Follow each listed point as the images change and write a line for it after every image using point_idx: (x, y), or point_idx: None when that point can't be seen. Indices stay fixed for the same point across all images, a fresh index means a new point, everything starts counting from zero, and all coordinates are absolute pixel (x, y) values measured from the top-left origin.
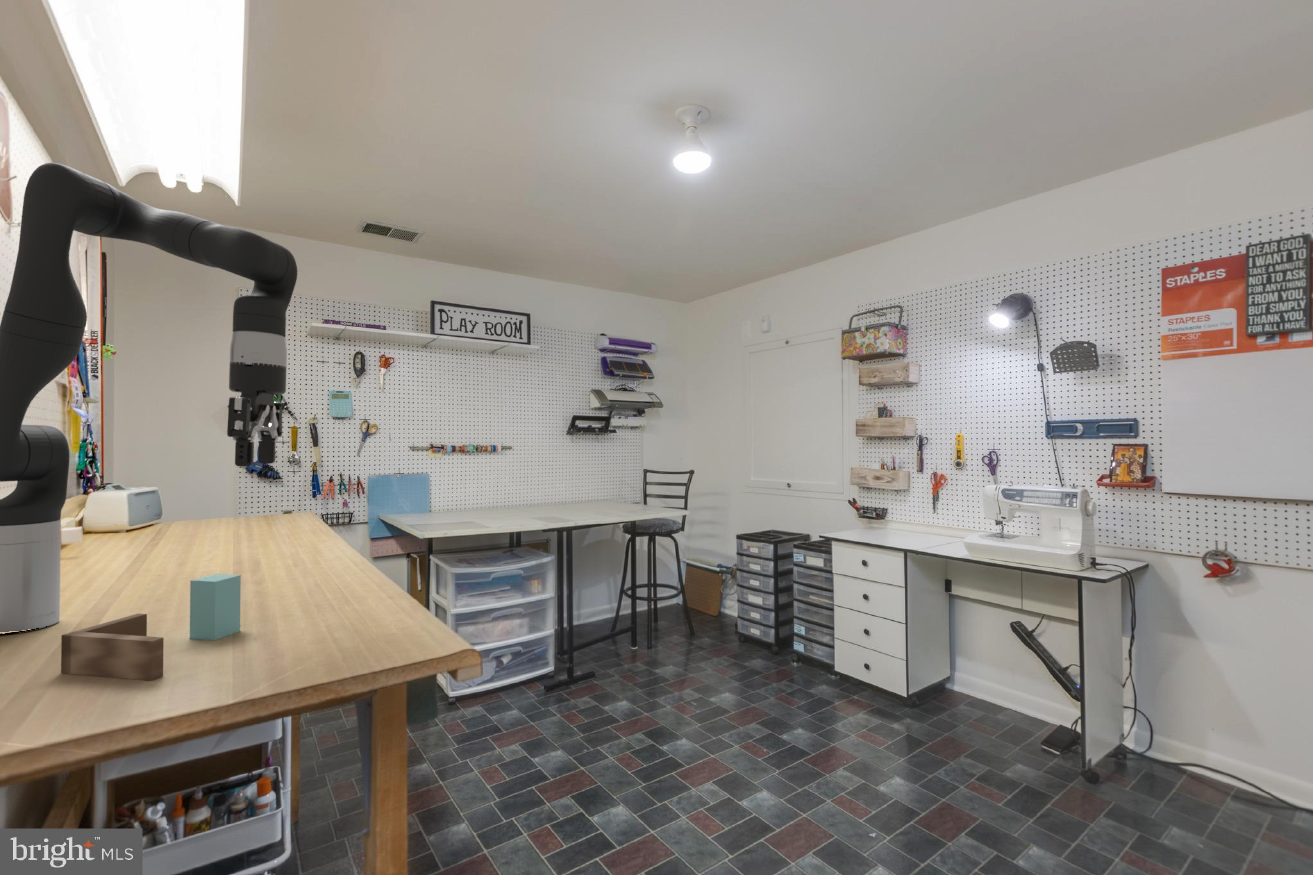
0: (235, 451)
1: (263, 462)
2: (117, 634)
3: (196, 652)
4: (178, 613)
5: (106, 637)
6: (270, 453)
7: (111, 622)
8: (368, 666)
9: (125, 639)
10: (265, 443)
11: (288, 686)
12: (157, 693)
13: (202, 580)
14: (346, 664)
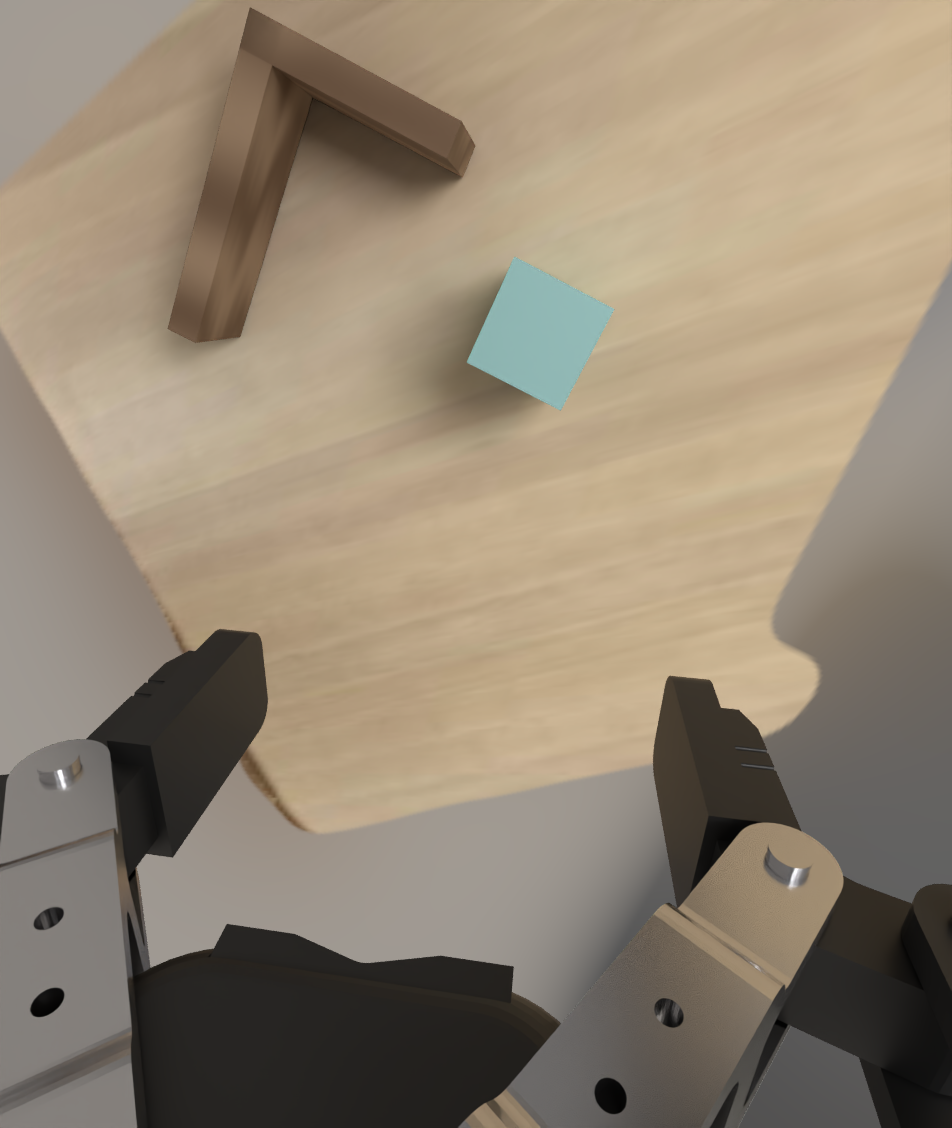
0: (162, 685)
1: (666, 703)
2: (234, 196)
3: (405, 335)
4: (904, 55)
5: (210, 180)
6: (666, 804)
7: (363, 91)
8: None
9: (188, 248)
10: (689, 846)
11: (171, 590)
12: (158, 368)
13: (500, 305)
14: (266, 664)
